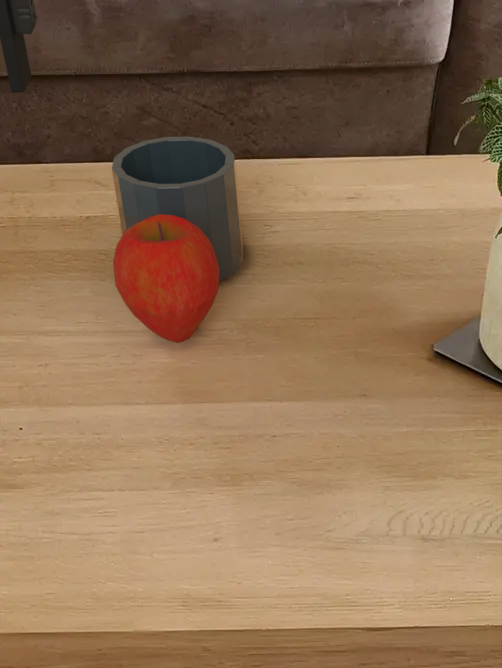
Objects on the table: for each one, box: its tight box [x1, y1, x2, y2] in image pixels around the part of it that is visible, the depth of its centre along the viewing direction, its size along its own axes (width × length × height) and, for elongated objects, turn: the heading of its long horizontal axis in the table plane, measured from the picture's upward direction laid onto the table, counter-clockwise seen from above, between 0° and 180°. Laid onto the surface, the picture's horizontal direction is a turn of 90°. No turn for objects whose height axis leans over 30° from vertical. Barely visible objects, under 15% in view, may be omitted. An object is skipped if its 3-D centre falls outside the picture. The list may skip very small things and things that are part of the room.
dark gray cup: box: [111, 136, 244, 282], centre depth 107 cm, size 11×11×10 cm
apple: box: [112, 214, 220, 343], centre depth 96 cm, size 9×8×11 cm
